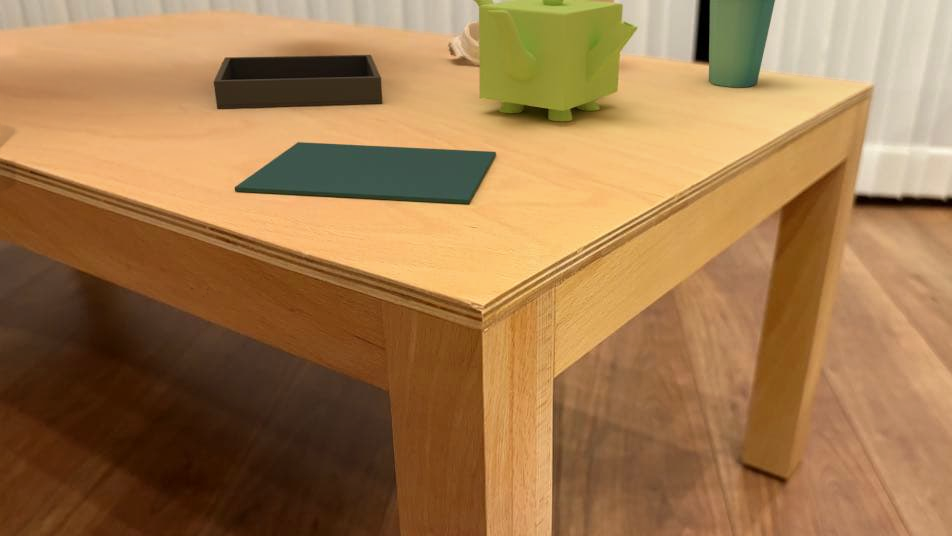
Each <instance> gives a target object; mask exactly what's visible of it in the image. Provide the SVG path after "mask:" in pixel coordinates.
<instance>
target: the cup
mask: <svg viewBox="0 0 952 536" xmlns="http://www.w3.org/2000/svg"><path fill="white" fill-rule="evenodd" d="M775 3H776V0H709V34H708V36H709V41H708V43H709V44H708V45H709V46H708V82H709V83H711V84H712V85H714V86H720V87H726V88H750V87H749V86H751V87H753V86H752V85H754V86H757V85H758V80H759V76H760V71H761V68H762V67H761V66H762V63H763V58H764V53H765V49H766V44H767V41H768V36H769V32H770V31H769V30H770V25H771V23H772V22H771V20H772V16H773V12H774V7H775ZM756 84H757V85H756Z"/></svg>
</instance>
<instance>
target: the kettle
mask: <svg viewBox="0 0 952 536" xmlns="http://www.w3.org/2000/svg"><path fill="white" fill-rule="evenodd" d="M473 1H474V2H475V3H476V4H477V6H478V22H479V64H478V66H479V68H478V69H479V75H478V76H479V99H484V100H490V101H496V102H502V105H501V106H500V108H499V109H498V112H500V113H503V114H519V113H522V112H523V111H524V108H525V106H530V107H535V108H536V107H537V108H543V109H548V111H547V112H548V113H547V115H548V117H547V119H548V120H550V121H553V122H569V121H572V120H573V114H572V111H571V109H573V108H576V109H577V110H579V111H586V112H590V111H591V112H594V111H599V110H601V107H600V106H599V104H598V103H597V101H596V100H599V99H601V98H605V97H607V96H609V95H612V94H615V93H617V92H618V91H619V90H618V89H619V75H620V73H619V72H620V60H621V59H620V58H621V57H620V56H621V52H622V50H623V49H624V47H625V46H626V45H627V44H628V43H629V41H630V40H631V38H632V37H633V36H634V34H635V33H636V31H637V30H638V28H639V27H638V26H637V25H634V24H633V23H630V22H628V21H626V20H623V7H624V5H623V3H622V2H621V3H619V2H614V3H609V2H598V1H586V0H507V1H501V2H494V1H493V0H473Z"/></svg>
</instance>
